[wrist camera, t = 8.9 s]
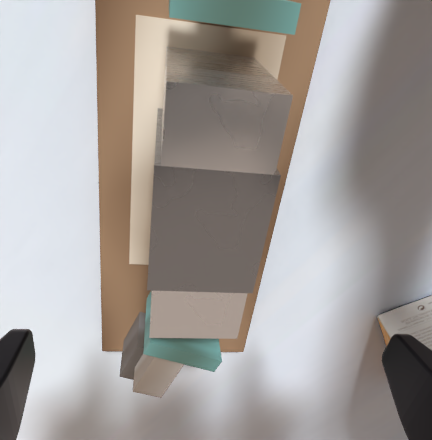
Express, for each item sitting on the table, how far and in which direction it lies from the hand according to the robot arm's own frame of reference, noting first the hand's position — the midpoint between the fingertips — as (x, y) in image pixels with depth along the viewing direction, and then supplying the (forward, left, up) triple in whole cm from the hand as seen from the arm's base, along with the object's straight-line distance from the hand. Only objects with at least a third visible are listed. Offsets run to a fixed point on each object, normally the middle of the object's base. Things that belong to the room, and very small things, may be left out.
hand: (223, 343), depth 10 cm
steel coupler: (0, 0, -11) cm, 11 cm away
